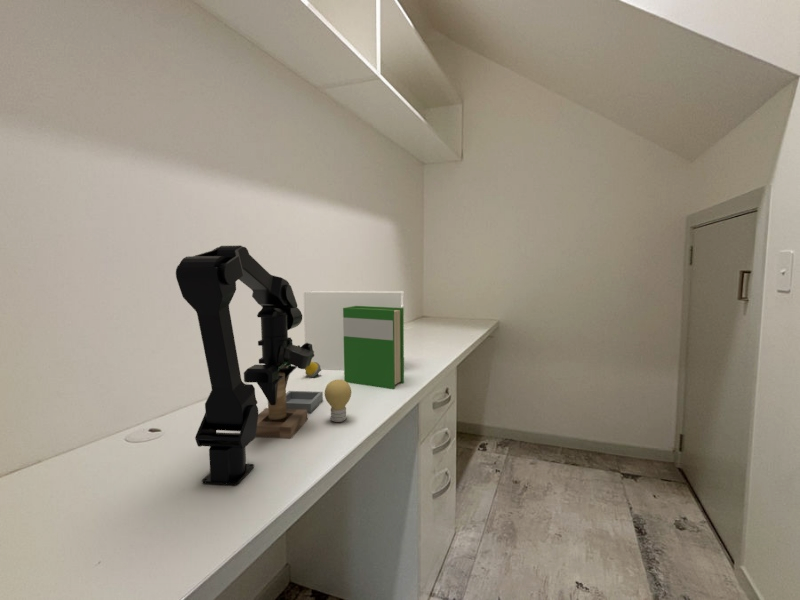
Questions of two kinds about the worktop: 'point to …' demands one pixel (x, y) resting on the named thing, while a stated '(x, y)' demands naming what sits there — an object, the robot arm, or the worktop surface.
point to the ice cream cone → (313, 369)
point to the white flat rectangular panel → (337, 320)
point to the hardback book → (373, 346)
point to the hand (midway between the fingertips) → (277, 401)
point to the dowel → (279, 401)
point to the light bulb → (338, 398)
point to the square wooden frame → (280, 424)
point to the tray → (303, 400)
